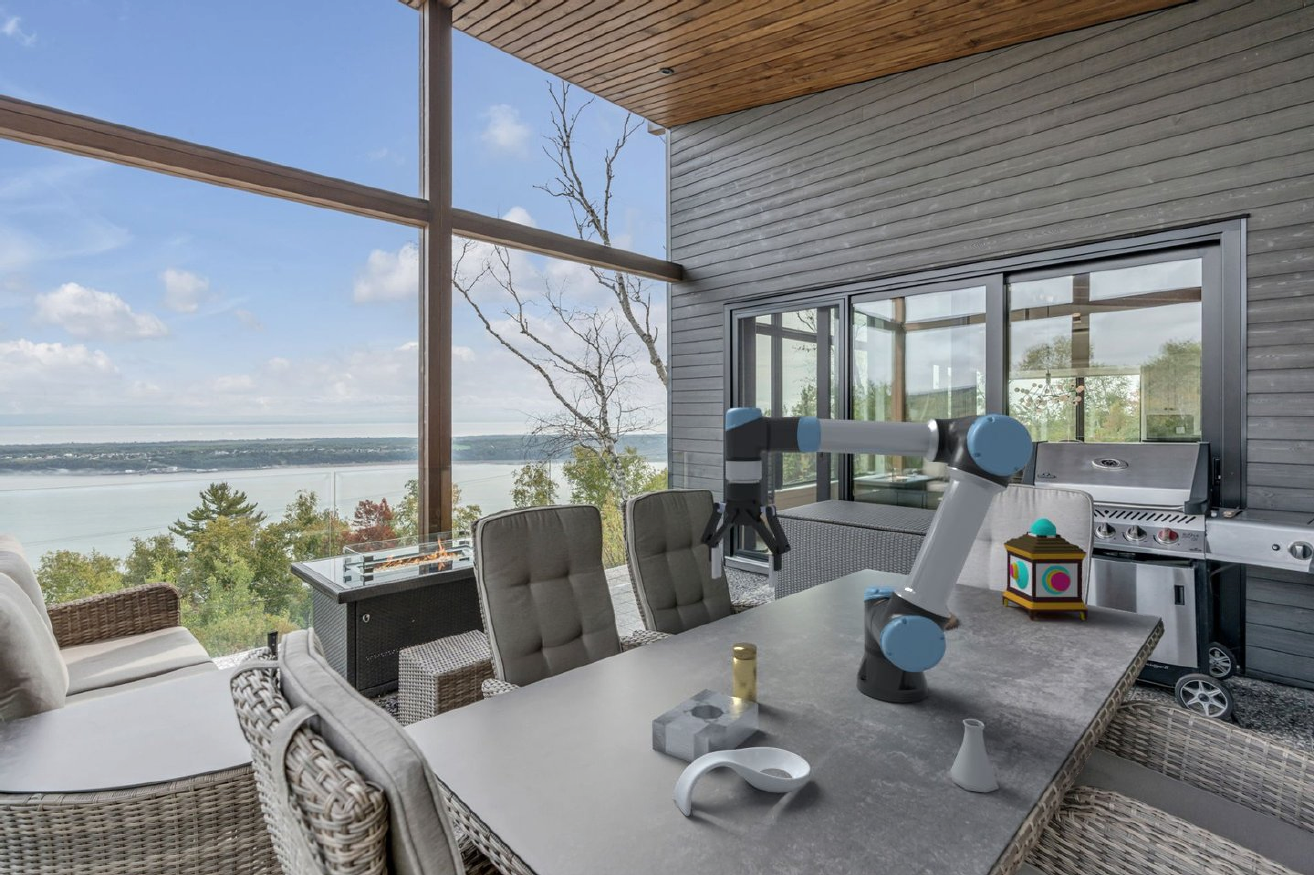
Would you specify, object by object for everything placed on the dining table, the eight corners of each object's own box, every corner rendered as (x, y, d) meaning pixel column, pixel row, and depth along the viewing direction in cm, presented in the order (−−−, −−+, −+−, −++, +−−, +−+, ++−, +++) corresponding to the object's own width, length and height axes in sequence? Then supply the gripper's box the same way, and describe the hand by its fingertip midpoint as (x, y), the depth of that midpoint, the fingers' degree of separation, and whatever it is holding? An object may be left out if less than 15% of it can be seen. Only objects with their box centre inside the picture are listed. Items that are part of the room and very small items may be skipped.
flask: (941, 771, 113) (941, 714, 113) (982, 769, 114) (982, 712, 113) (964, 795, 106) (964, 733, 106) (1007, 793, 106) (1007, 731, 106)
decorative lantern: (1095, 622, 198) (1096, 522, 197) (1029, 622, 198) (1029, 523, 197) (1056, 604, 218) (1056, 513, 217) (995, 604, 218) (995, 514, 217)
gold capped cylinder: (761, 706, 139) (760, 645, 139) (749, 715, 135) (749, 652, 135) (740, 700, 142) (740, 641, 142) (728, 709, 138) (728, 647, 138)
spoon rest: (781, 761, 117) (781, 721, 117) (825, 794, 107) (825, 750, 107) (663, 793, 107) (662, 750, 107) (698, 834, 97) (698, 785, 96)
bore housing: (758, 734, 127) (758, 703, 127) (708, 774, 113) (708, 739, 112) (705, 718, 134) (705, 688, 134) (652, 753, 120) (652, 720, 120)
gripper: (806, 482, 134) (807, 586, 134) (703, 477, 149) (703, 570, 149) (790, 485, 128) (791, 594, 128) (684, 479, 143) (685, 577, 143)
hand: (744, 581), depth 138 cm, fingers open, 13 cm apart
